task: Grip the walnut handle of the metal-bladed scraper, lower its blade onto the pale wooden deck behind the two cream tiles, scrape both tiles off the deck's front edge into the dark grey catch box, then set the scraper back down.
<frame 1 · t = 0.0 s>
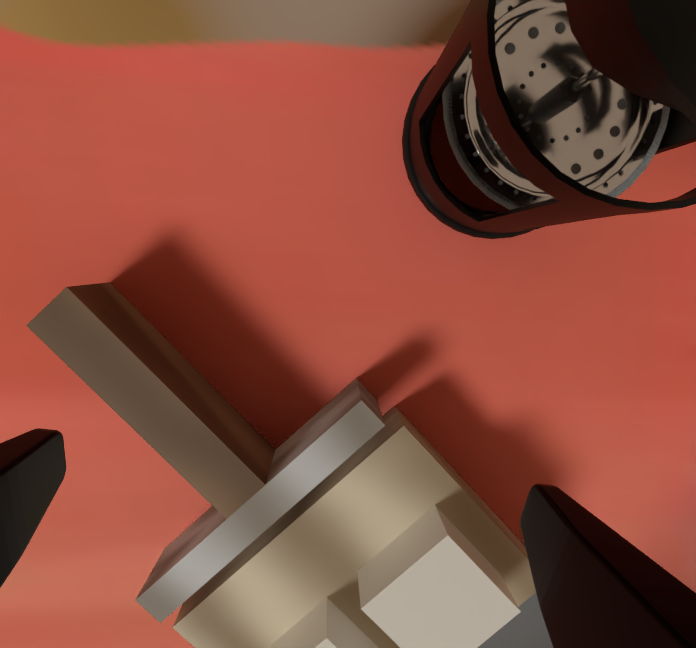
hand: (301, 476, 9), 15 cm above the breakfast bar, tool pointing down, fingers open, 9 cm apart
scraper: (178, 383, 24), on the breakfast bar
tile 2: (429, 572, 23), point 3 cm above the breakfast bar, touching deck
french press: (497, 133, 23), on the breakfast bar
deck: (358, 565, 26), on the breakfast bar
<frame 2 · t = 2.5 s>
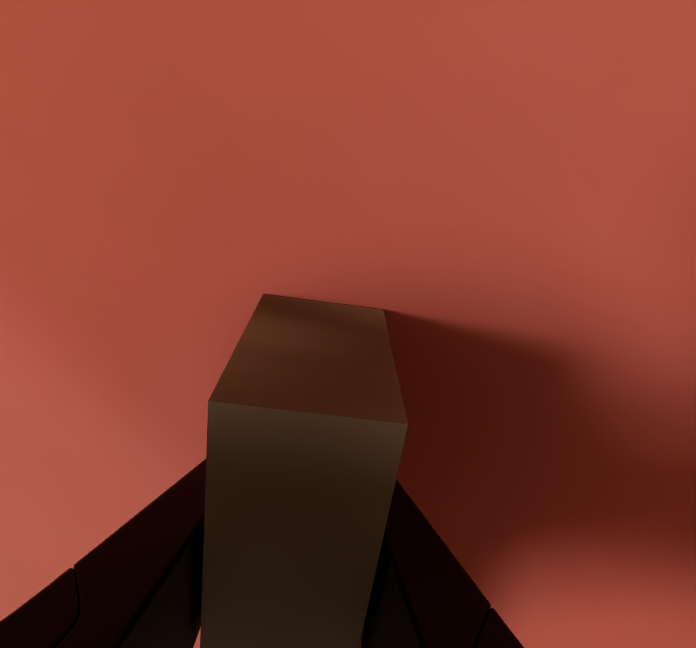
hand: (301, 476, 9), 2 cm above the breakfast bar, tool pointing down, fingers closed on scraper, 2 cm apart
scraper: (294, 530, 12), on the breakfast bar, touching gripper
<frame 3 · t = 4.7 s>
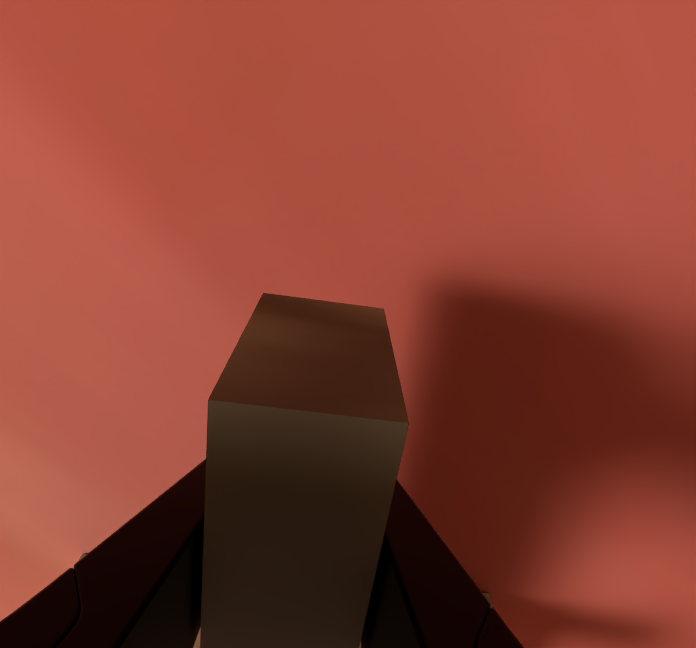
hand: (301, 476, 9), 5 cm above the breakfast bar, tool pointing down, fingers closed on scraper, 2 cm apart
scraper: (294, 530, 12), point 4 cm above the breakfast bar, touching gripper
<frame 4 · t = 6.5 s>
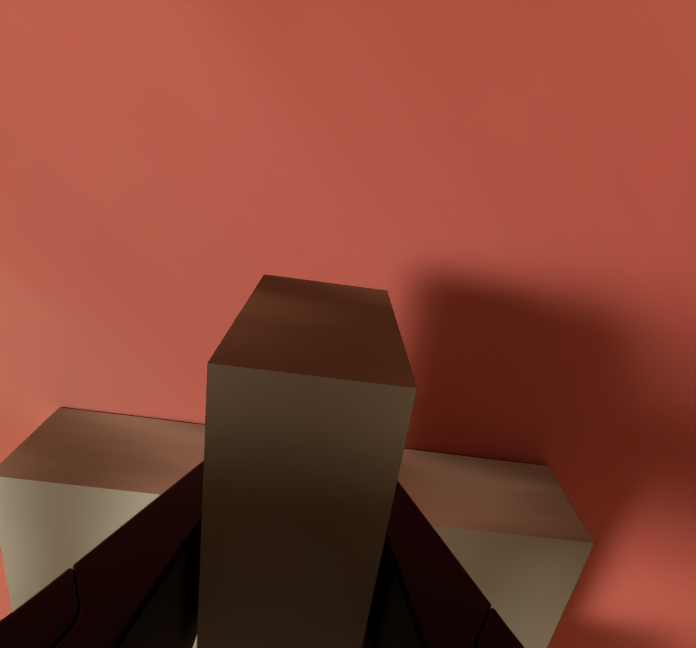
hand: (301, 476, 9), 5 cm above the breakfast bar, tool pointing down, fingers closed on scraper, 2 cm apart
scraper: (295, 525, 11), point 3 cm above the breakfast bar, touching gripper, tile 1
deck: (292, 568, 16), on the breakfast bar
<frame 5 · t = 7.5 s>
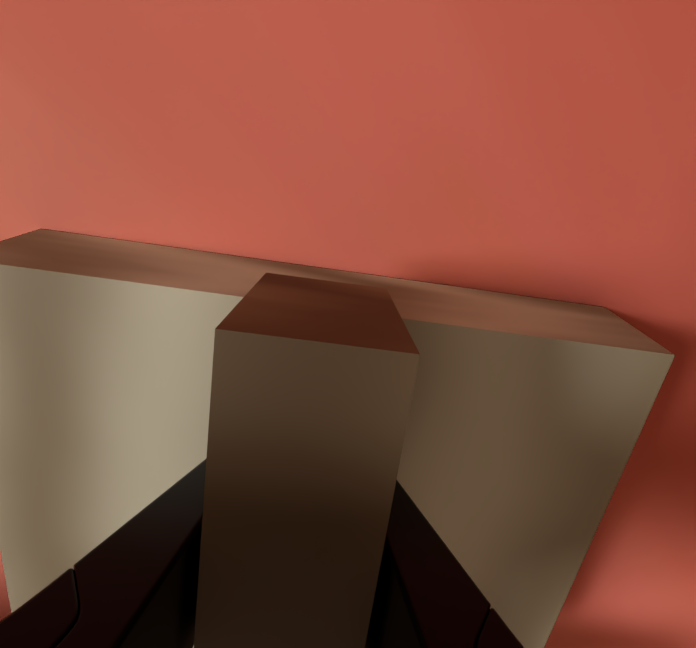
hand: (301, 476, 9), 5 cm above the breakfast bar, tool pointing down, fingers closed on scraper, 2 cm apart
scraper: (294, 534, 11), point 4 cm above the breakfast bar, tilted 7°, touching gripper, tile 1, tile 2
deck: (308, 441, 14), on the breakfast bar
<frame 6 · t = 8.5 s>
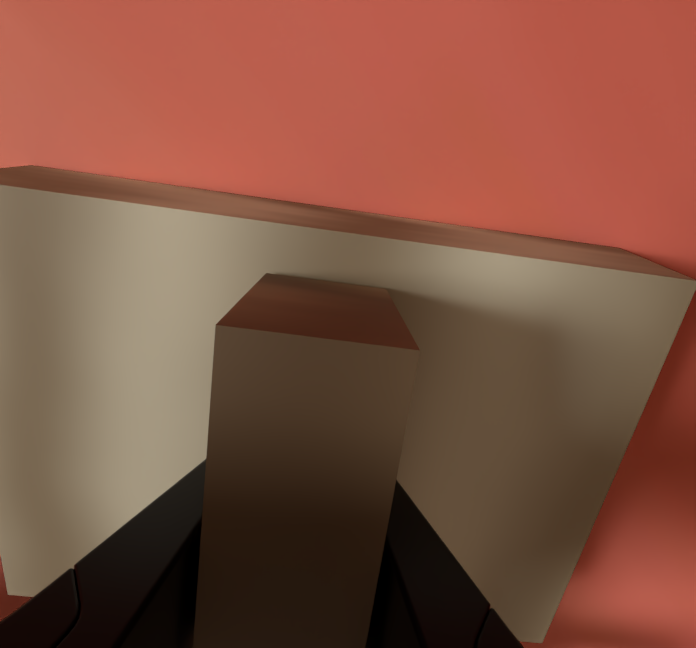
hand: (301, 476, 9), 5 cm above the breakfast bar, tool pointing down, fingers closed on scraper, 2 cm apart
scraper: (293, 536, 11), point 4 cm above the breakfast bar, tilted 7°, touching gripper
deck: (311, 395, 14), on the breakfast bar
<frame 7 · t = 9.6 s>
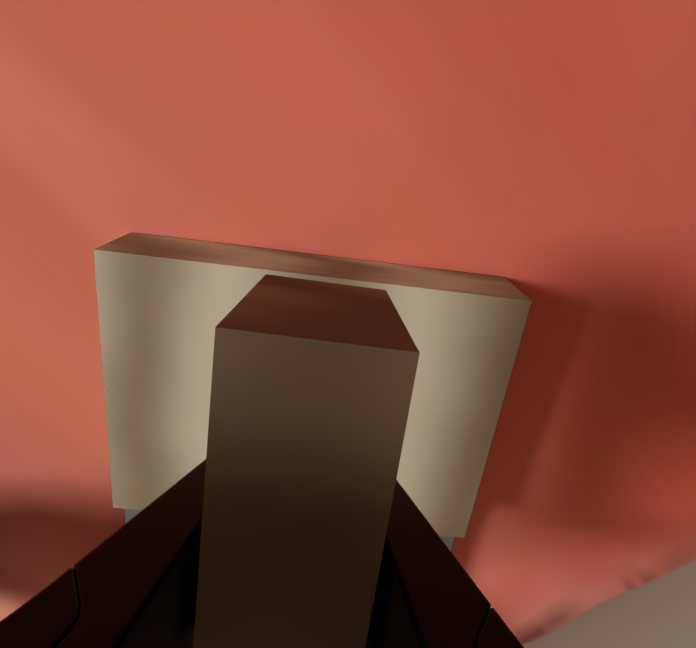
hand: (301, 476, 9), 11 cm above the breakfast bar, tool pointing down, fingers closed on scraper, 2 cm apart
scraper: (293, 537, 11), point 10 cm above the breakfast bar, tilted 7°, touching gripper
deck: (309, 376, 21), on the breakfast bar
when the fingers open (2 cm above the breakfast bar, at t = 12.6 s): scraper drops 2 cm, on the breakfast bar.
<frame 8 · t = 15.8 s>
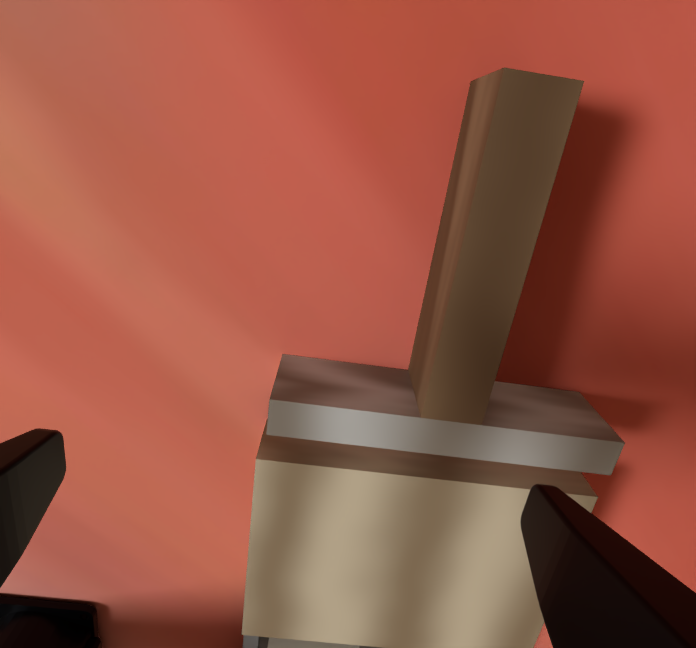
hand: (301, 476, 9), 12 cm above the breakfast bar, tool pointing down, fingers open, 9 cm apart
scraper: (463, 246, 20), on the breakfast bar
deck: (400, 522, 25), on the breakfast bar
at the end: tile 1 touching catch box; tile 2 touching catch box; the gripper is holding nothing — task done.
